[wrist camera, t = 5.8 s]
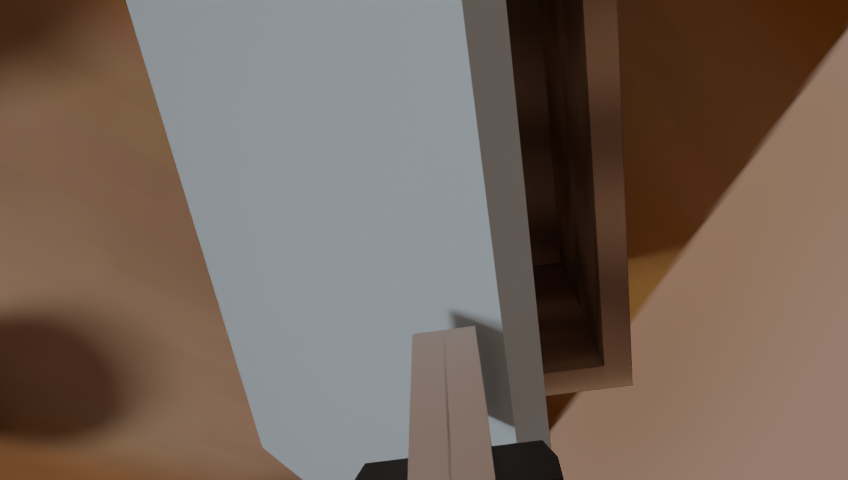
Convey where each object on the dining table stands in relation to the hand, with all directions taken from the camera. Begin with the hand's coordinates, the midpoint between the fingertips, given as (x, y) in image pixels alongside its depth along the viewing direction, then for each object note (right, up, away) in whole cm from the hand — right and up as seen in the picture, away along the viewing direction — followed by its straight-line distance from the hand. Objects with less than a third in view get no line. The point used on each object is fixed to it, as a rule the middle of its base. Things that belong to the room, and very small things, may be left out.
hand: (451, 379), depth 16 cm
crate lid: (-3, +2, +6) cm, 7 cm away
